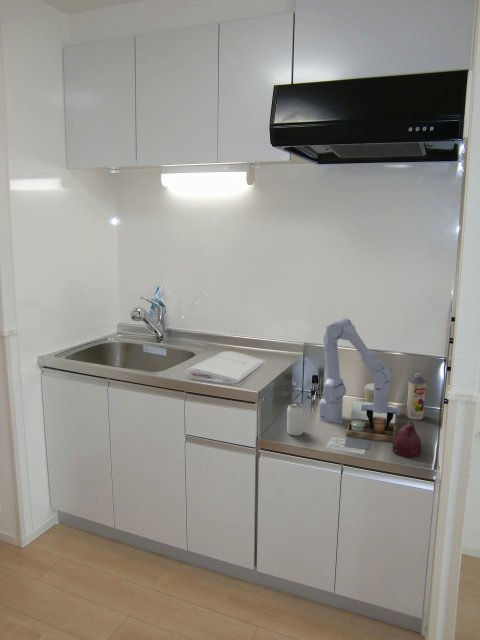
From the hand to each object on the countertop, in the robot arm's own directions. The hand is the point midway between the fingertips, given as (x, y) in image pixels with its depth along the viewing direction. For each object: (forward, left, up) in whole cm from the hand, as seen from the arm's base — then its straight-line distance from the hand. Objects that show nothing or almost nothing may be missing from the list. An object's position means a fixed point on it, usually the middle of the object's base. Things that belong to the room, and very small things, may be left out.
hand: (379, 429), depth 199 cm
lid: (-3, +9, +3) cm, 10 cm away
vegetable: (+11, -13, -2) cm, 17 cm away
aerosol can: (+14, +20, -2) cm, 24 cm away
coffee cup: (-3, +21, -2) cm, 21 cm away
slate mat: (-7, -12, -2) cm, 14 cm away
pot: (0, 0, -1) cm, 1 cm away
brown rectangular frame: (-3, +3, -2) cm, 4 cm away
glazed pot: (-8, -3, -1) cm, 9 cm away
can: (-32, -9, -2) cm, 34 cm away
